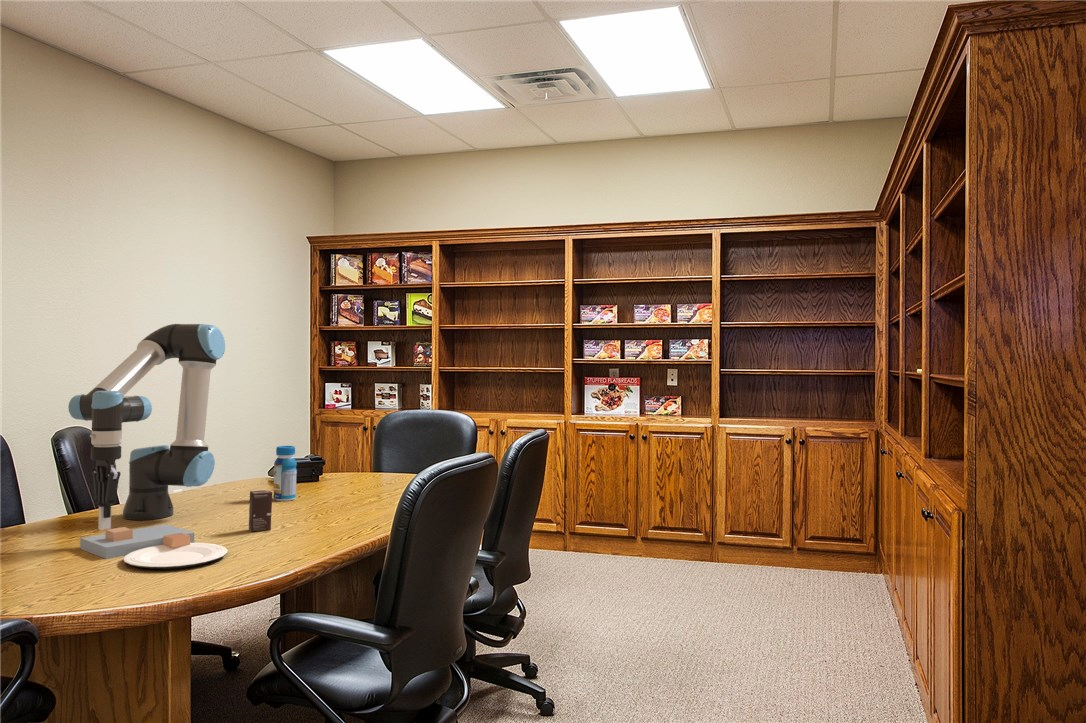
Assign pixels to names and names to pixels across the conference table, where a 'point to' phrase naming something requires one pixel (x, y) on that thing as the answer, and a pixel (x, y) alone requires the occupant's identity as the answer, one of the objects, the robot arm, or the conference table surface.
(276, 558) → the conference table surface
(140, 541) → the board
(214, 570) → the conference table surface
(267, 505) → the box
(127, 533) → the tile
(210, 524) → the conference table surface
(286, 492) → the beverage bottle
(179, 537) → the tile
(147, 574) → the conference table surface
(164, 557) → the plate
